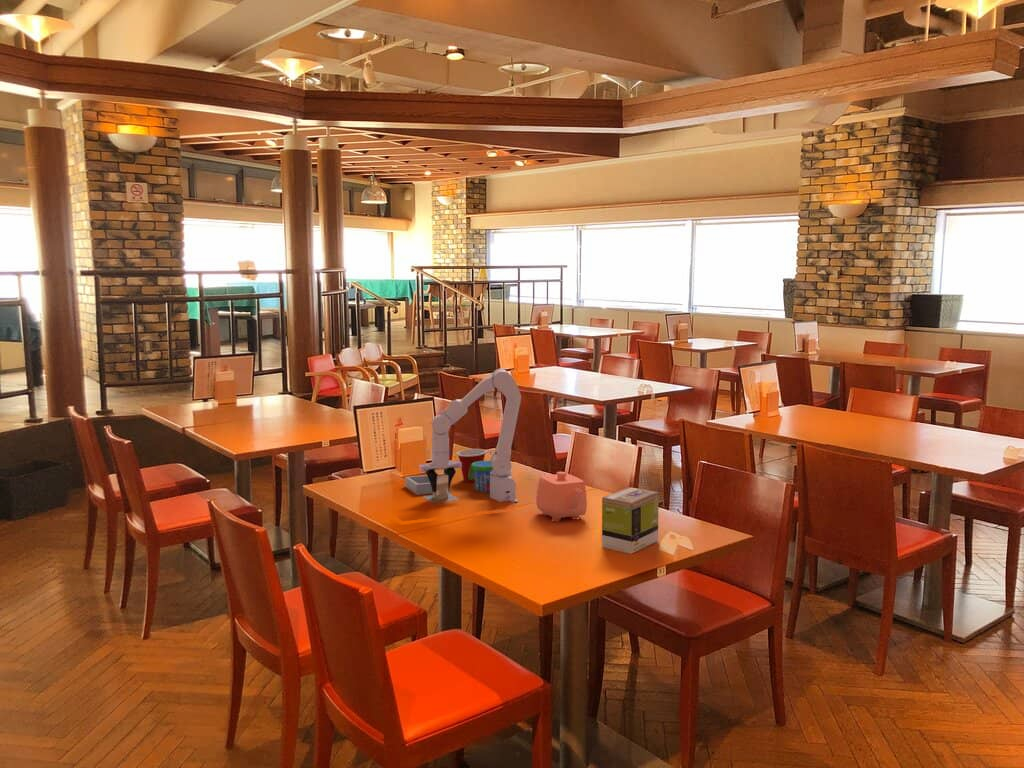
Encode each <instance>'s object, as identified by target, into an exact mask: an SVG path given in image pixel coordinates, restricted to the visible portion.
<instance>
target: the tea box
mask: <svg viewBox="0 0 1024 768" xmlns="http://www.w3.org/2000/svg"><path fill="white" fill-rule="evenodd" d="M601 521H602V522H601V547H602V548H605V549H608V548H609V550H613V551H617V552H620V553H625V554H630V555H632V554H634V553H636V552H638V551H640V550H642V549H645V548H646V547H649V546H650V545H652V544H654V543H657V542H659V492H658V491H653V490H648V489H642V488H636V487H631V486H628V487H627V488H623V489H621V490H618V491H615V492H613V493H610V494H608V495H606V496H603V497H602V500H601Z"/></svg>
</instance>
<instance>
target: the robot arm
mask: <svg viewBox="0 0 1024 768" xmlns="http://www.w3.org/2000/svg"><path fill="white" fill-rule="evenodd" d="M495 388H496V389H497V390H498V391H500V392H501V393H502V394H503V395H504V397H505V398H506V401H505V406H504V411H503V416H502V419H501V424H500V425H501V426H500V431H499V435H498V441H497V444H496V447H495V450H494V453H493V454H492V455H491V457H490V461H491V465H492V466H493V469H492V471H491V472H490V492H489V498H491V499H493V500H495V501H497V502H499V503H501V502H508V501H510V502H512V503H518V502H519V500H518V499H516V496H517V495H516V490H517V487H516V481H515V480H514V479H513V477H512V471H511V470H512V462H511V455H512V447H513V442H514V441H513V440H514V436H515V431H516V426H517V421H518V416H519V411H520V406H521V401H522V394H521V392H520V389H519V387H518V384H517V382H516V380H515V379H514V377H513V376H512V375H511V374H510V373H509V372H508V371H507V369H504V368H497V369H495V370H494V371H492V373H490V374H488V375H487V376H485V377H484V378H483V379H482V380H481V381H480V382H479V383H478V384H476V385H475V386H474V387H473V388H472V389H471V390H470V391H469V392H468V393H467V394H466V395H465V396H464V397H463V398H461V399H459V398H458V399H457V398H456V399H455V400H451V401H449V404H448V405H447V406H446V407H445V408H444V409H443V410H440V411H438V414H437V415H435V416H434V417H433V418H432V420H431V422H430V423H431V428H432V432H431V435H432V438H431V462H430V463H425V464H419V466H418V471H419V472H420V473H424V472H425V475H427V476H428V478H429V481H430V484H431V487H432V491H433V492H436V479H437V471H442V470H443V473H445V474H447V475H448V492H450V487H451V483H452V481H453V478H454V477H455V475H456V471H457V470H456V469H461V468H462V463H461V462H460V461H450V437H449V431H450V428H451V426H452V425H455V424H456V423H457V422H458V421H459V420H461V418H463V416H465V414H467V413H468V411H469V410H468V407H469V406H471V404H472V405H473V403H475V402H476V400H479V398H480V397H482V396H483V395H484V394H486V393H488V392H495V391H496V390H495Z"/></svg>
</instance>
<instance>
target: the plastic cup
mask: <svg viewBox="0 0 1024 768" xmlns="http://www.w3.org/2000/svg"><path fill="white" fill-rule="evenodd" d="M486 454H487V449H482V448H468V449H467V448H466V449H462V450H460V451H457V452H456V455H457V457H458V459H459V462H461V463H462V468H460V470H461V474H462V479H463V482H465V483H470V484H471V483H472V484H473V483H475V479H472V480H470V479H469V477H468V474H469V468H470V466H471V465H472V463H474V462H478V461H485V455H486ZM473 475H474V472H473Z"/></svg>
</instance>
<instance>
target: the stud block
mask: <svg viewBox="0 0 1024 768" xmlns="http://www.w3.org/2000/svg"><path fill="white" fill-rule="evenodd" d="M421 497H422V498H423V499H425V500H427V501H428V502H429V503H431V504H435V503H436V504H437V503H445V502H454V501H461V499H459V498H458V497H456V496H455V495H453V494H452V493H450V492H448V499H440V500H437V499H435V498H434V497H433V494H423V495H421Z"/></svg>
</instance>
